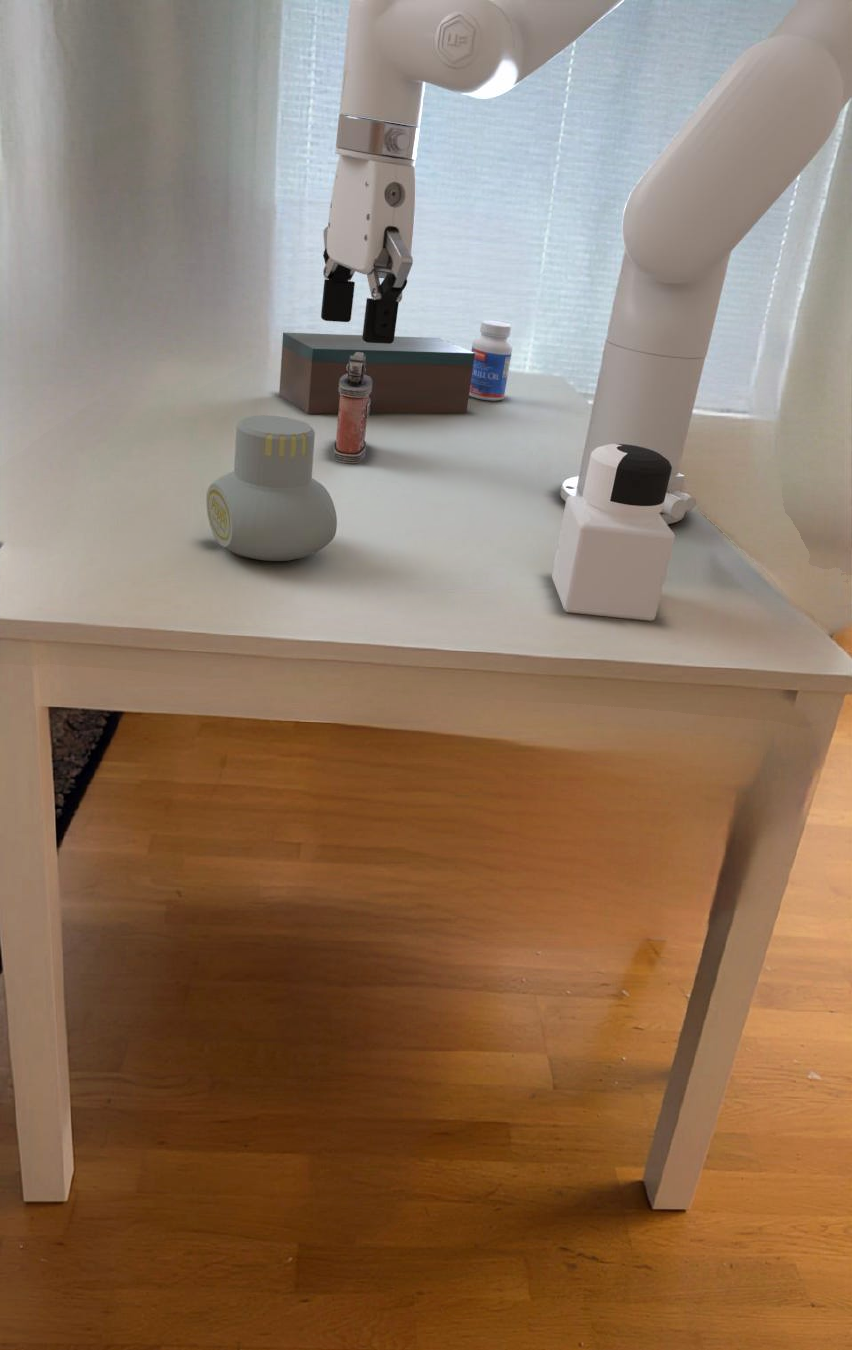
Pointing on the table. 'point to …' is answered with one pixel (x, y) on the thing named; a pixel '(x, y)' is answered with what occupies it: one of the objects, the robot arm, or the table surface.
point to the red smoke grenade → (353, 411)
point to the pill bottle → (491, 361)
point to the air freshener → (272, 494)
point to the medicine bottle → (616, 536)
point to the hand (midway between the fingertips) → (356, 331)
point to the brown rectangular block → (377, 373)
